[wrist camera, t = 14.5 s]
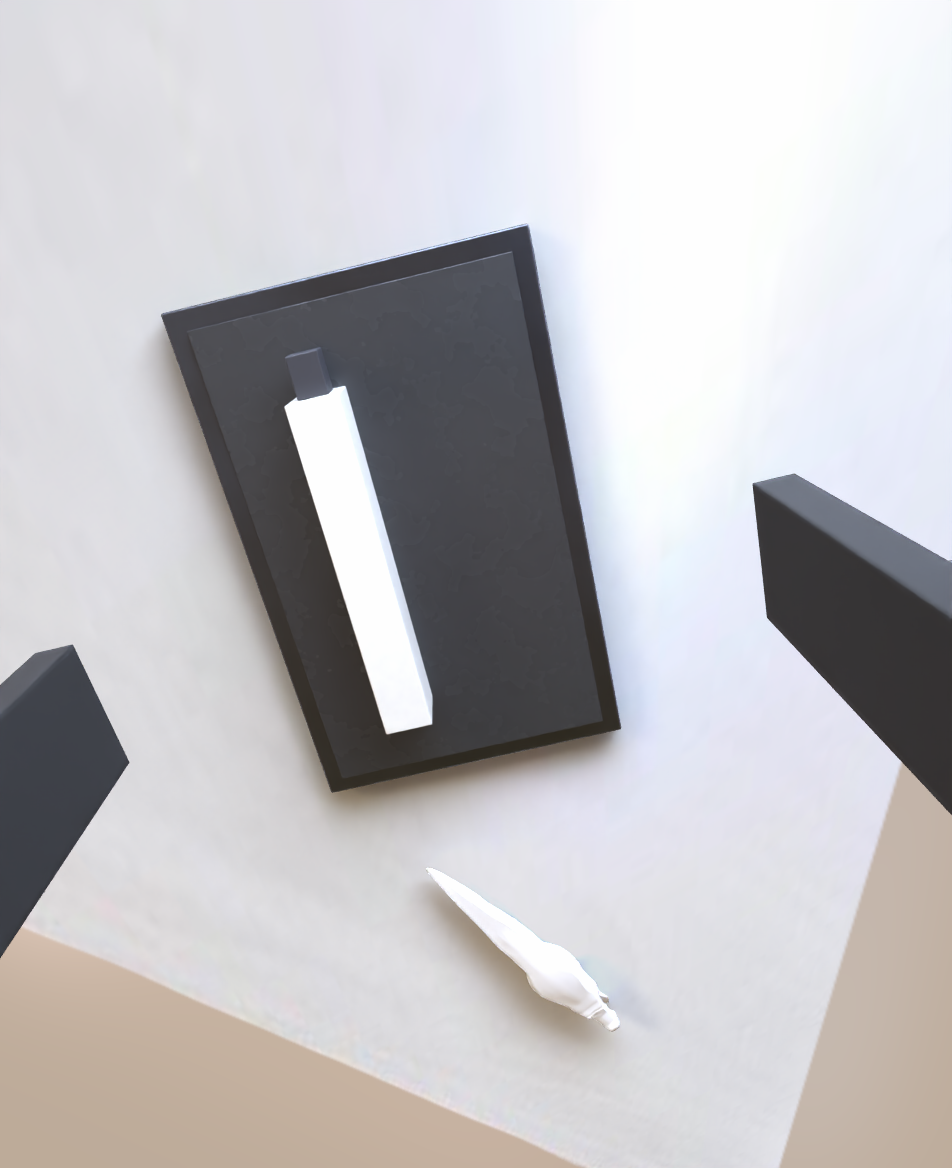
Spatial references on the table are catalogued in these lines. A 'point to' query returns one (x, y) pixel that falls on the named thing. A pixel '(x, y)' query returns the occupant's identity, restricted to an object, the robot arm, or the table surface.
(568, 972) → the white tapered piece
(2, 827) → the robot arm
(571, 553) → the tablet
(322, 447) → the white rectangular bar
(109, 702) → the table surface
